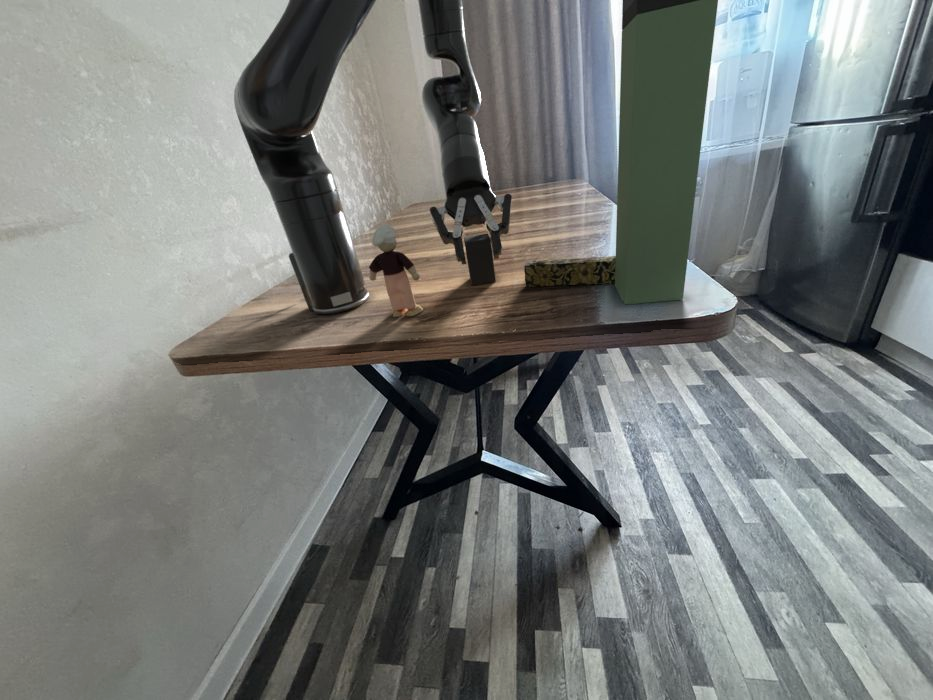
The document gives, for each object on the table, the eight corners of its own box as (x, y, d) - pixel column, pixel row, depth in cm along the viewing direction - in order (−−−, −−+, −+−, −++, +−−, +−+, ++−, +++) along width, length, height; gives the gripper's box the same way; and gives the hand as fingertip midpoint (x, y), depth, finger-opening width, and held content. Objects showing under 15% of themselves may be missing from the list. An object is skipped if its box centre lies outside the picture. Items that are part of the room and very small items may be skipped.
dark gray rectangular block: (471, 285, 62) (464, 242, 59) (470, 278, 66) (463, 237, 63) (495, 281, 62) (490, 238, 59) (493, 274, 66) (487, 233, 63)
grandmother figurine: (431, 305, 58) (412, 218, 52) (426, 315, 54) (405, 224, 48) (383, 310, 59) (359, 226, 53) (375, 321, 56) (349, 232, 50)
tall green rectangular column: (624, 304, 47) (639, -43, 32) (614, 286, 53) (623, -17, 38) (683, 299, 46) (726, -65, 31) (666, 281, 52) (696, -35, 37)
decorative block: (525, 287, 58) (523, 265, 56) (528, 282, 60) (526, 259, 58) (636, 283, 53) (637, 258, 51) (635, 277, 55) (636, 253, 53)
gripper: (419, 162, 62) (431, 254, 57) (506, 146, 62) (527, 238, 57) (427, 193, 69) (439, 277, 64) (505, 179, 69) (523, 263, 64)
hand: (480, 258), depth 61 cm, fingers open, 4 cm apart
